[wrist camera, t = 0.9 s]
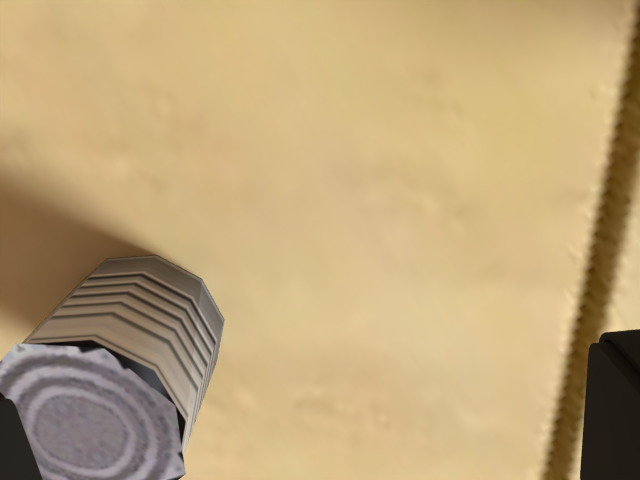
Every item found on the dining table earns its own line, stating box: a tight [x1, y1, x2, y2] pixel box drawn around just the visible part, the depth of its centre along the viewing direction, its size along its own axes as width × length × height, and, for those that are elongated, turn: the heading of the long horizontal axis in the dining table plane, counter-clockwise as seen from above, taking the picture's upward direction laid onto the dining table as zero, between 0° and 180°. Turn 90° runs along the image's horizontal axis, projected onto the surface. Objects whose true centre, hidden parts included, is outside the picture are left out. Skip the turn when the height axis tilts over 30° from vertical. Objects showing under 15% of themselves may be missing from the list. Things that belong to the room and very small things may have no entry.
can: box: [0, 255, 224, 480], centre depth 36 cm, size 11×11×12 cm
